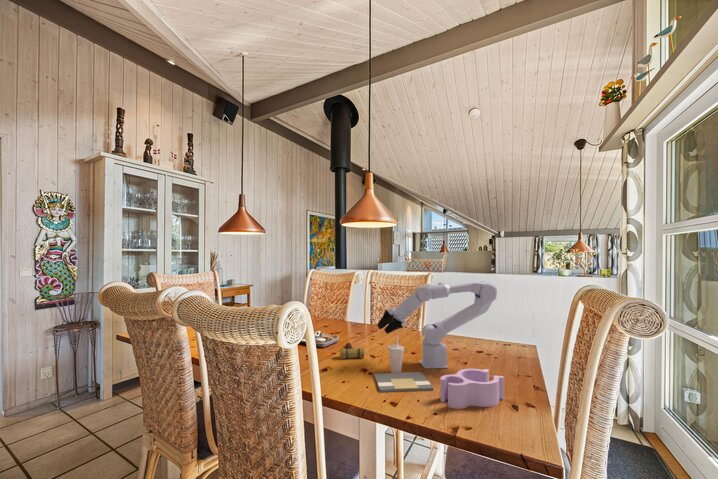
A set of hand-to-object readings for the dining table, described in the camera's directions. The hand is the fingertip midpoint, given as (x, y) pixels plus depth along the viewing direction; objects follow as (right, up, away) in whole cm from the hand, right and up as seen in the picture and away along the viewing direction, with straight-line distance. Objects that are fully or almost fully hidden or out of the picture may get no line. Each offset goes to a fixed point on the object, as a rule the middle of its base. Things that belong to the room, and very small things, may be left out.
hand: (382, 329), depth 131 cm
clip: (+26, -13, -31) cm, 43 cm away
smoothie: (+5, -14, -9) cm, 17 cm away
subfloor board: (+6, -13, -19) cm, 24 cm away
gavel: (-14, -15, +15) cm, 26 cm away
